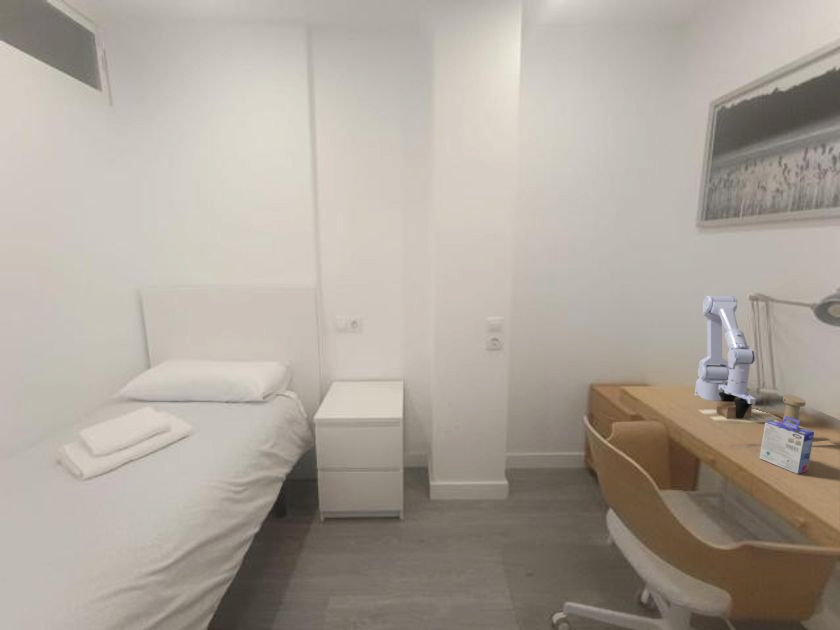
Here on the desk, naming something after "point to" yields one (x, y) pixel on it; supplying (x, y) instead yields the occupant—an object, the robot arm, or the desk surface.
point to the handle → (793, 407)
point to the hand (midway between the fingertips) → (733, 414)
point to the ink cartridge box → (787, 445)
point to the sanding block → (730, 410)
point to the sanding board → (755, 417)
